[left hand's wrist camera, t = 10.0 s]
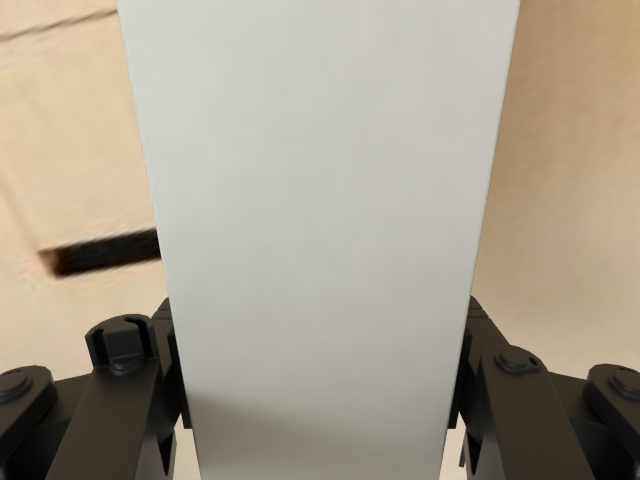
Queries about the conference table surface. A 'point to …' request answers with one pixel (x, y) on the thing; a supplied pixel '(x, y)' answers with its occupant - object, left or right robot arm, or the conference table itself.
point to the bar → (319, 219)
